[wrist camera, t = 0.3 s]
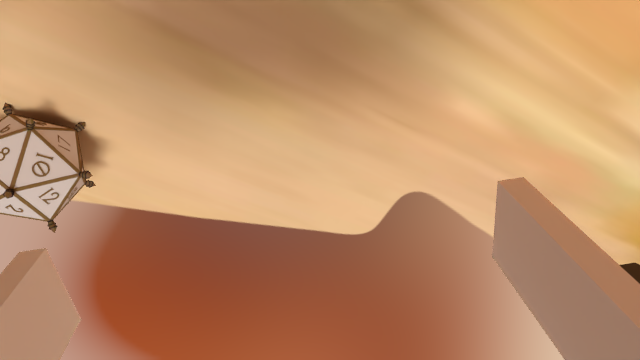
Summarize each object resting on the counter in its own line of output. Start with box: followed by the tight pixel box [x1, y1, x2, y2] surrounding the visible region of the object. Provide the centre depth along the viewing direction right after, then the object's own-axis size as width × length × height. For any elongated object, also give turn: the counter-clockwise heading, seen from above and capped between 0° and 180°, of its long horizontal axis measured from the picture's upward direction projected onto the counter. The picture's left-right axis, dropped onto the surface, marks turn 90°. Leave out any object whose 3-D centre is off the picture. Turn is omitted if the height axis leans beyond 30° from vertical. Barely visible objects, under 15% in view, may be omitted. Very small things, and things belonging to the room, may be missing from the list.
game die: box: [0, 103, 96, 232], centre depth 32 cm, size 9×8×10 cm
